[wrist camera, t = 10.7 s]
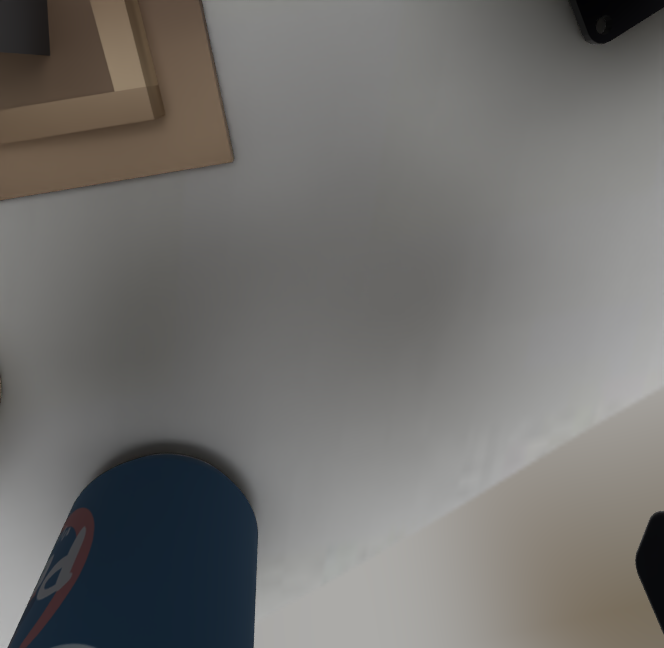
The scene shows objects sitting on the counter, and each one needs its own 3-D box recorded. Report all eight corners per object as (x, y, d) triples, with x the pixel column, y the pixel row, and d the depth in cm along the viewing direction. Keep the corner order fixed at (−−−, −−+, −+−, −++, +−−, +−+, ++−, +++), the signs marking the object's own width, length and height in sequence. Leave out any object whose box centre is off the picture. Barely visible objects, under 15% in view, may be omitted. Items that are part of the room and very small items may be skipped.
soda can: (70, 436, 22) (-135, 804, 11) (261, 438, 23) (248, 785, 12) (85, 580, 25) (-67, 992, 14) (256, 577, 25) (242, 967, 14)
